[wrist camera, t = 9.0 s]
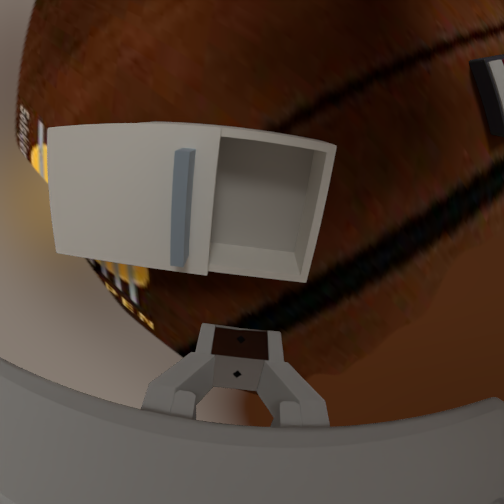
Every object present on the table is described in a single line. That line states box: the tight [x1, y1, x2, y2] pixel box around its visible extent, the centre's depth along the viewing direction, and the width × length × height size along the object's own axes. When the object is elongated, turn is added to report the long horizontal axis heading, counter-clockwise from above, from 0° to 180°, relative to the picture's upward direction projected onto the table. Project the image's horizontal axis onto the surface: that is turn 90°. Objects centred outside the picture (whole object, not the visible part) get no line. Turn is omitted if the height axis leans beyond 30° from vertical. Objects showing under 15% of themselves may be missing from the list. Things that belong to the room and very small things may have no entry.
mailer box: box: [144, 122, 337, 283], centre depth 29 cm, size 14×18×6 cm
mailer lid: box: [47, 123, 222, 276], centre depth 24 cm, size 14×18×3 cm
